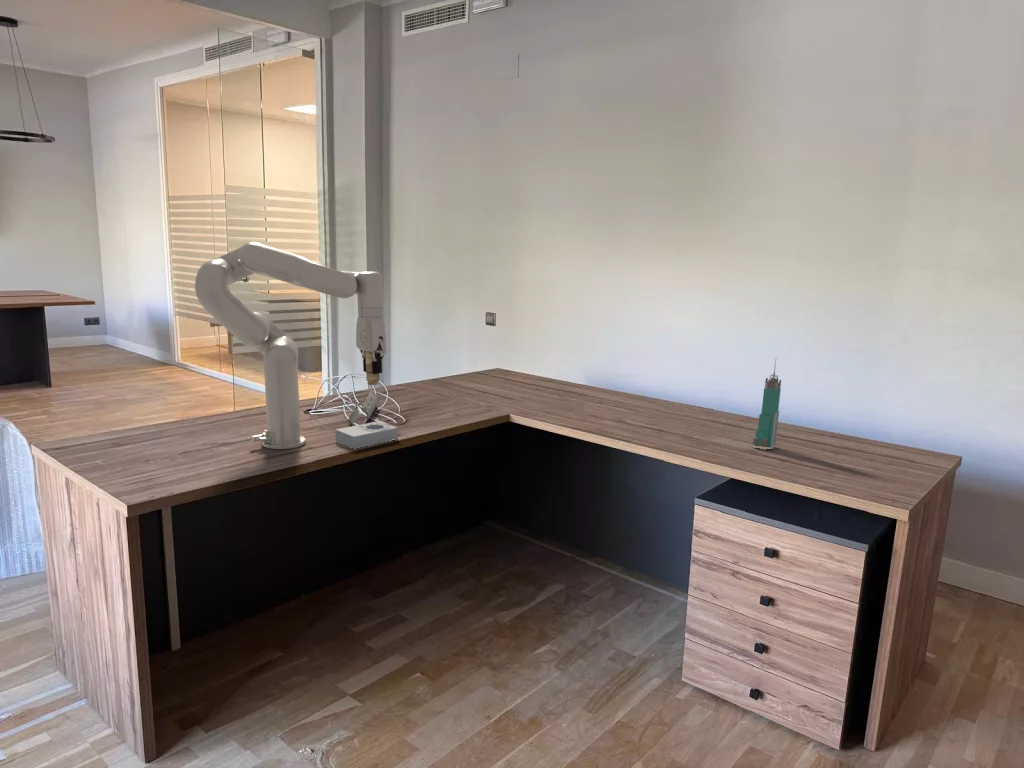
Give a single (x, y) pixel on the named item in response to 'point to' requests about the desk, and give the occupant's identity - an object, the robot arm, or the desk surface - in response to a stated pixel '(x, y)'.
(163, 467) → the desk surface
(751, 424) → the desk surface
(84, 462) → the desk surface
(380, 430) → the board
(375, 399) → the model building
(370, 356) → the peg
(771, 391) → the building
